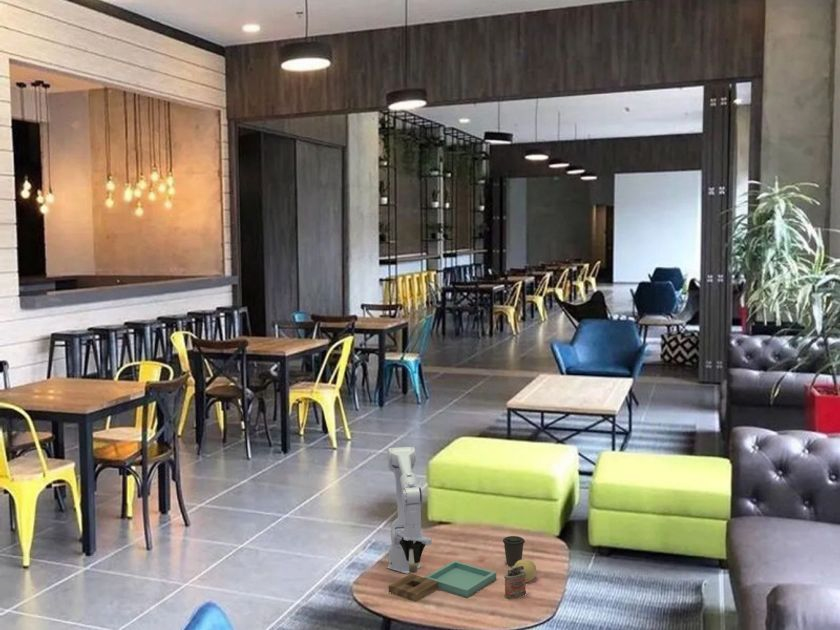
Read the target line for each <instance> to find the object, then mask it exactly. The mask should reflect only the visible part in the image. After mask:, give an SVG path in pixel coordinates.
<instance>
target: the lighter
mask: <svg viewBox="0 0 840 630" xmlns="http://www.w3.org/2000/svg"><path fill="white" fill-rule="evenodd" d="M523 569H524V566H523V565H520V566H517V567H515V566H512V567H510V568H507V573H506V574H504V575H503V578H504V599H506V600H513V599H517V597H518V598H521V597H524V596H526V595H527V590H526V587H527V586H526V584H527V582H525V575H526V572H525V571H521V570H523ZM525 594H526V595H525ZM523 595H524V596H523ZM520 596H521V597H520ZM512 598H513V599H512Z"/></svg>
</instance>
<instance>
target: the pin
mask: <svg viewBox="0 0 840 630" xmlns="http://www.w3.org/2000/svg"><path fill="white" fill-rule="evenodd" d="M418 565H419V562H418V563H415V562H414V552H413V548H412V547H409V572H410V574H414V573H417V572H419V568H418Z"/></svg>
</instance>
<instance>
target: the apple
mask: <svg viewBox="0 0 840 630" xmlns="http://www.w3.org/2000/svg"><path fill="white" fill-rule="evenodd" d="M520 565H523V566H524V569H523V570H521V571H525V572H526V575H525V582H526V583H528V582H531V581H533V580H534V579H535V577H536V574H537V567H536V566H537V565H536V564H535V563H534V562H533V561H532V560H531V559H528V558H522V560H519V561H517V562H516V563H515V565H514V566H515V567H517V566H520Z"/></svg>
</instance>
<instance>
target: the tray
mask: <svg viewBox="0 0 840 630" xmlns="http://www.w3.org/2000/svg"><path fill="white" fill-rule="evenodd" d="M423 577H424V578H427V579H430V580H434V581H437V582H438V589H437V590H441V591H444V592H447V593H450V594H453V595H457V596H460V597H463V598H466V599H467V598H469V597H471V596H473V595H474V594H476V593H478V592H479V591H480V590H482V589H484V588H485V587H487V586H488V584H489V585H490V584H491V582H492V583H494V580H495V581H496V580H497V572H496V571H492V570H489V569H486V568H483V567H478V566H475V565H471V564H467V563H464V562H460V561H458V560H453V561H451V562H450V563H447V564H446V565H444V566H442V567H440V568H439V569H437V570H434V571H433V572H431V573H429V574H428V575H426V576H423Z"/></svg>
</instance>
